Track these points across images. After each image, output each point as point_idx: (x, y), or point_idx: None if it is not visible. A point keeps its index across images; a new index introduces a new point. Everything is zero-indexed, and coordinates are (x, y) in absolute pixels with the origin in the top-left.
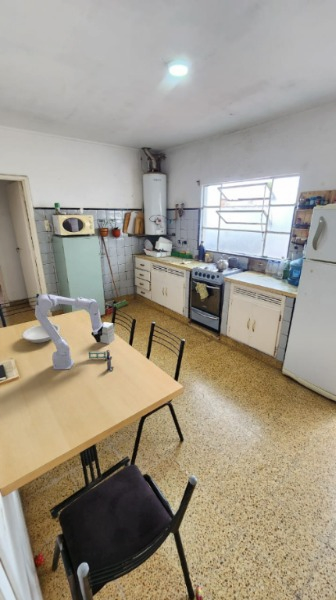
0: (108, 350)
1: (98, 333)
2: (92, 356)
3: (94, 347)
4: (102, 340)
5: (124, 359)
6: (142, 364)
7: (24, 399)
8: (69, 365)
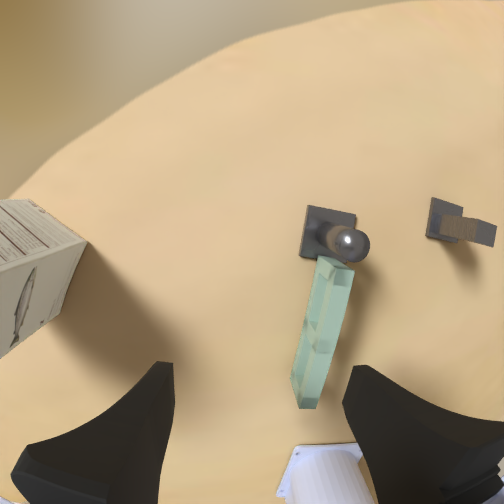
0: (348, 239)
1: (497, 461)
2: (303, 365)
3: (129, 354)
4: (56, 301)
5: (358, 110)
6: (418, 26)
7: None
8: (348, 454)
